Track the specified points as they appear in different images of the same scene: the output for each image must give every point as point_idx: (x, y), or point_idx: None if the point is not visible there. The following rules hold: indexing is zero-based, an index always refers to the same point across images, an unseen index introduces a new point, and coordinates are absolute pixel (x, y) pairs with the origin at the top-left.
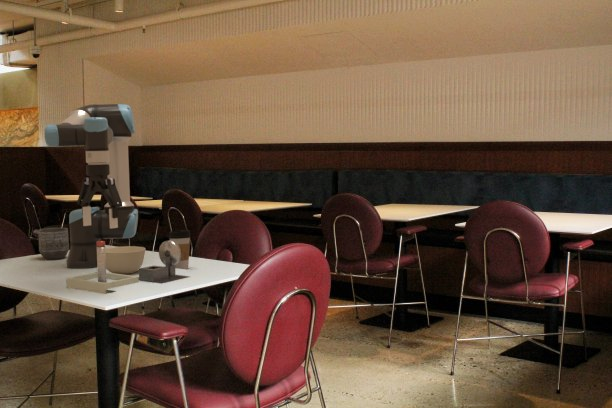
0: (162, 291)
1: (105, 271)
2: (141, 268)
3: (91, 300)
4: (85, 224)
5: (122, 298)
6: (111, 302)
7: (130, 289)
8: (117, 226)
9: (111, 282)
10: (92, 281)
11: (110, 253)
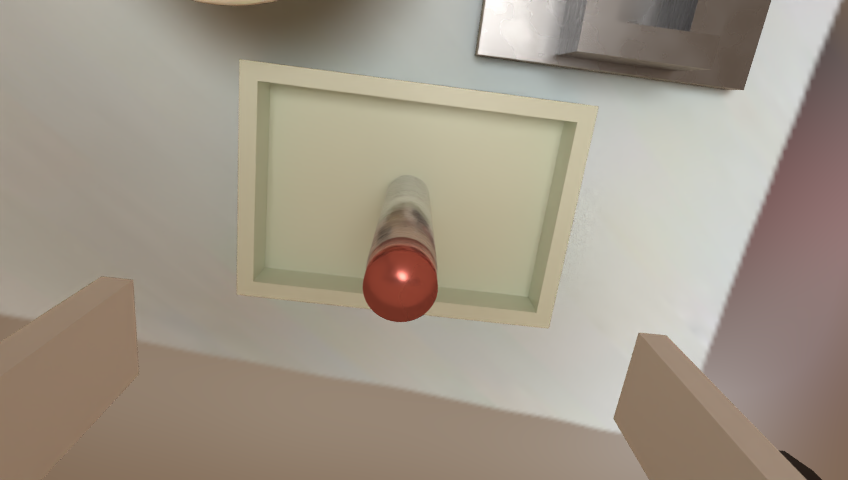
0: (773, 159)
1: (430, 209)
2: (595, 42)
3: (566, 413)
4: (127, 374)
5: None
6: None
7: (586, 184)
8: (672, 347)
9: (556, 291)
10: (446, 311)
11: (267, 2)
